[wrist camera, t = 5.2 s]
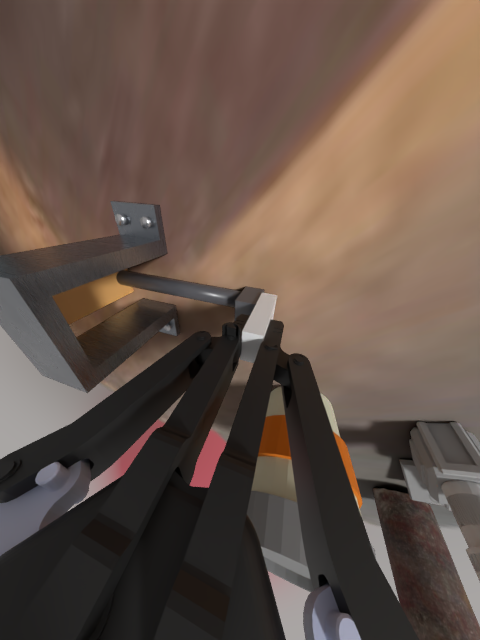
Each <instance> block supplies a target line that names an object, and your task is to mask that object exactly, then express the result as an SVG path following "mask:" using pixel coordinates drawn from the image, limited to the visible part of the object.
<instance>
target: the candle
mask: <svg viewBox="0 0 480 640" xmlns="http://www.w3.org/2000/svg"><path fill="white" fill-rule="evenodd" d="M373 494H374V498H375V502H376V506H377V511H378V515H379V519H380V524H381V528H382V531H383V536H384V539H385V544H386V547H387V552H388V556H389V560H390V564H391V569H392V572H393V577H394V581H395V585H396V590H397V594H398V598H399V602H400V605H401V607H402V609H403V611H404V612H405V614H406V616H407V618H408V620H409V622H410V623H411V625H412V627H413V629H414V631H415V633H416V634H417V636H418V638H419V640H480V627H479V624H478V621H477V619H476V617H475V614H474V612H473V610H472V607H471V605H470V602H469V600H468V597H467V595H466V592H465V590H464V587H463V585H462V583H461V580H460V577H459V575H458V573H457V570H456V567H455V565H454V562H453V560H452V558H451V555H450V552H449V550H448V548H447V545H446V543H445V540H444V538H443V535H442V533H441V530H440V528H439V525H438V523H437V520H436V518H435V516H434V513H433V511H432V509H431V507H430V505H429V504H427V503H426V502H420V501H414V500H412V499H411V498H410V496H409V494H408V493H402V492H399V491H392V490H387V489H385V488H381V489H380V488H373Z"/></svg>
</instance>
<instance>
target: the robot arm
mask: <svg viewBox="0 0 480 640" xmlns="http://www.w3.org/2000/svg"><path fill="white" fill-rule="evenodd" d="M276 300H277V295H273V294H268V293H261V295H260V297H259V299H258V301H257V303H256V305H255V307H254V309H253V311H252V313H251V315H245V314H241V315H239V316H238V317H237V318H236V320H235V321H234V323H232V322H229V323H225V324H224V325H223V326H222V336H221V337H211V335H210V334H209V333H208V332H205V331H200V332H197V333H195V334H193V335H192V336H191V337H189V338H188V339H186V340H185V341H184V342H182V343H181V344H180V345H178V346H177V347H176V348H174V349H173V350H171V351H170V352H169V353H167V354H166V355H165V356H163V357H162V358H161V359H159V360H158V361H156V362H155V363H154V364H152V365H151V366H150V367H148V368H147V369H146V370H144V371H143V372H141V373H140V374H139V375H137V376H136V377H135V378H133V379H132V380H130V381H129V382H128V383H126V384H125V385H124V386H122V387H121V388H120V389H118V390H117V391H115V392H114V393H113V394H112V395H110V396H109V397H107V398H106V399H105V400H103V401H102V402H100V403H99V404H98V405H96V406H95V407H94V408H92V409H91V410H90V411H88V412H87V413H85V414H84V415H83V416H81V417H80V418H79V419H77V420H76V421H75V422H73V423H72V424H70V425H68V426H66V427H63V428H61V429H59V430H57V431H55V432H53V433H51V434H49V435H47V436H45V437H43V438H41V439H39V440H37V441H35V442H33V443H31V444H29V445H27V446H25V447H23V448H21V449H19V450H17V451H14V452H12V453H10V454H9V455H7V456H5V457H4V458H2V459H0V640H286V639H285V635H284V631H283V627H282V624H281V620H280V616H279V613H278V609H277V605H276V601H275V597H274V594H273V590H272V586H271V582H270V579H269V575H268V571H267V567H266V564H265V560H264V556H263V552H262V549H261V545H260V541H259V538H258V535H257V533H256V530H255V528H254V526H253V524H252V522H251V520H250V519H249V517H248V515H247V510H248V505H249V500H250V495H251V490H252V485H253V480H254V475H255V469H256V463H257V458H258V453H259V448H260V443H261V438H262V433H263V428H264V423H265V418H266V413H267V409H268V404H269V399H270V394H271V389H272V384H273V380H275V381H277V382H278V383H280V384H281V388H282V396H283V403H284V410H285V417H286V424H287V432H288V439H289V446H290V453H291V460H292V468H293V475H294V482H295V489H296V496H297V504H298V511H299V518H300V525H301V532H302V540H303V545H304V551H305V557H306V562H307V566H308V570H309V574H310V578H311V582H312V586H313V589H314V591H313V592H312V593H310V594H309V596H308V598H307V600H306V602H305V607H304V612H303V618H304V619H303V622H304V623H303V624H304V632H305V638H306V640H419V638H418V636H417V634H416V633H415V631H414V629H413V627H412V625H411V623H410V622H409V620H408V618H407V616H406V614H405V612H404V611H403V609H402V607H401V605H400V603H399V601H398V600H397V598H396V596H395V594H394V592H393V591H392V589H391V587H390V585H389V583H388V581H387V579H386V578H385V576H384V574H383V572H382V570H381V568H380V567H379V565H378V563H377V561H376V559H375V556H374V553H373V550H372V547H371V544H370V541H369V538H368V535H367V533H366V529H365V526H364V523H363V520H362V517H361V514H360V511H359V508H358V505H357V502H356V499H355V496H354V493H353V490H352V487H351V484H350V481H349V478H348V475H347V472H346V469H345V466H344V463H343V460H342V457H341V454H340V451H339V448H338V445H337V442H336V439H335V436H334V433H333V430H332V427H331V424H330V421H329V418H328V415H327V412H326V409H325V406H324V403H323V400H322V397H321V394H320V391H319V388H318V385H317V382H316V379H315V376H314V373H313V370H312V367H311V364H310V362H309V360H308V358H306V357H305V356H304V355H302V354H298V353H295V354H291V355H288V354H286V353H285V352H284V351H282V349H281V347H280V343H281V338H282V333H283V328H284V325H283V323H282V322H281V321H276V320H273V316H274V311H275V305H276ZM240 355H241V356H240ZM239 357H240V360H244V361H248V362H252V363H254V364H253V367H252V370H251V373H250V376H249V379H248V382H247V385H246V388H245V391H244V394H243V397H242V400H241V403H240V405H239V408H238V411H237V414H236V417H235V420H234V423H233V426H232V429H231V432H230V435H229V438H228V441H227V443H226V447H225V449H224V451H223V452H222V454H221V456H220V458H219V461H218V463H217V466H216V469H215V472H214V475H213V477H212V480H211V483H210V486H209V488H203V487H192V486H190V482H191V480H192V477H193V474H194V470H195V465H196V462H197V459H198V457H199V454H200V452H201V450H202V448H203V445H204V443H205V441H206V438H207V436H208V434H209V431H210V429H211V427H212V424H213V422H214V420H215V417H216V415H217V413H218V410H219V408H220V406H221V403H222V401H223V399H224V396H225V394H226V392H227V389H228V387H229V385H230V382H231V380H232V378H233V375H234V373H235V371H236V368H237V366H238V362H239ZM186 390H187V391H186ZM185 391H186V392H185ZM184 392H185V394H184V395H183V397H182V399H181V400H180V402H179V403H178V405H177V406H176V408H175V409H174V411H173V412H172V414H171V416H170V417H169V419H168V420H167V422H166V423H165V425H164V426H163V427H160V428H157V429H156V430H155V431H154V432H153V433H152V434H151V436H150V437H149V438H148V440H147V441H146V443H145V444H144V446H143V447H142V449H141V450H140V452H139V453H138V455H137V456H136V458H135V459H134V461H133V462H132V464H131V465H130V467H129V468H128V470H127V471H126V473H125V474H124V475H123V476H121V477H120V478H118V479H117V480H116V481H114V482H112V483H111V484H109V485H108V486H106V487H105V488H103V489H102V490H100V491H98V492H97V493H95V494H94V495H92V496H91V497H89V498H88V499H86V500H85V501H84V502H82V503H80V504H79V505H77V506H76V507H74V508H72V509H71V510H70V511H68V510H69V509H70V508H71V507H72V506H73V505H74V504H77V503H79V502H81V501H82V500H83V499H84V498H85V497H86V495H87V493H88V491H89V484H90V481H92V480H93V479H95V478H96V477H98V476H99V475H100V474H101V473H103V472H104V471H105V470H106V469H107V468H109V467H110V466H111V465H112V464H113V463H114V462H115V461H116V460H118V459H119V458H120V457H121V456H122V455H123V454H124V453H125V452H126V451H127V450H128V449H129V448H130V447H131V446H132V445H133V444H134V443H135V442H136V441H137V440H138V439H139V438H140V437H141V435H143V434H144V433H145V431H146V430H148V429H149V428H150V426H152V425H153V424H154V423H155V422H156V420H158V419H159V418H160V417H161V416H162V415H163V414H164V413H165V411H166V410H167V409H168V408H169V407H170V406H171V405H172V404H173V403H174V402H175V401H176V400H177V399H178V398H179V397H180V396H181V395H182V394H183V393H184ZM67 511H68V512H67Z"/></svg>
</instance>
